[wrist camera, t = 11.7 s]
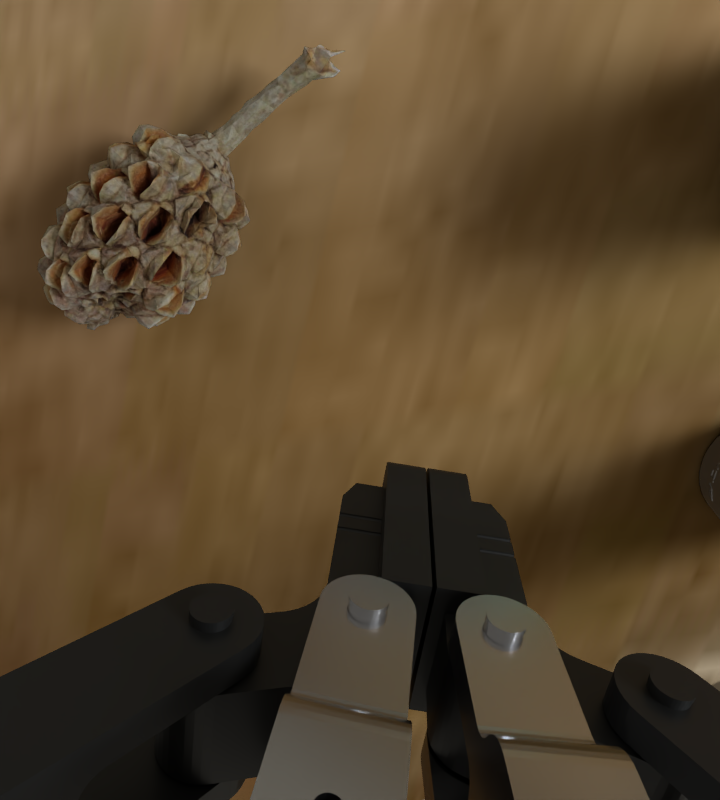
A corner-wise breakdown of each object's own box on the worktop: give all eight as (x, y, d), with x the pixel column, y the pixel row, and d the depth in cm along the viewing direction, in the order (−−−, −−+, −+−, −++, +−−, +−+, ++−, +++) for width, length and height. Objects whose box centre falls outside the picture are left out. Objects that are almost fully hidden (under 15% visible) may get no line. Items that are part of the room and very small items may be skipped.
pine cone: (170, 344, 47) (113, 397, 38) (59, 249, 45) (-30, 280, 36) (387, 96, 40) (381, 86, 31) (267, -30, 38) (223, -81, 29)
